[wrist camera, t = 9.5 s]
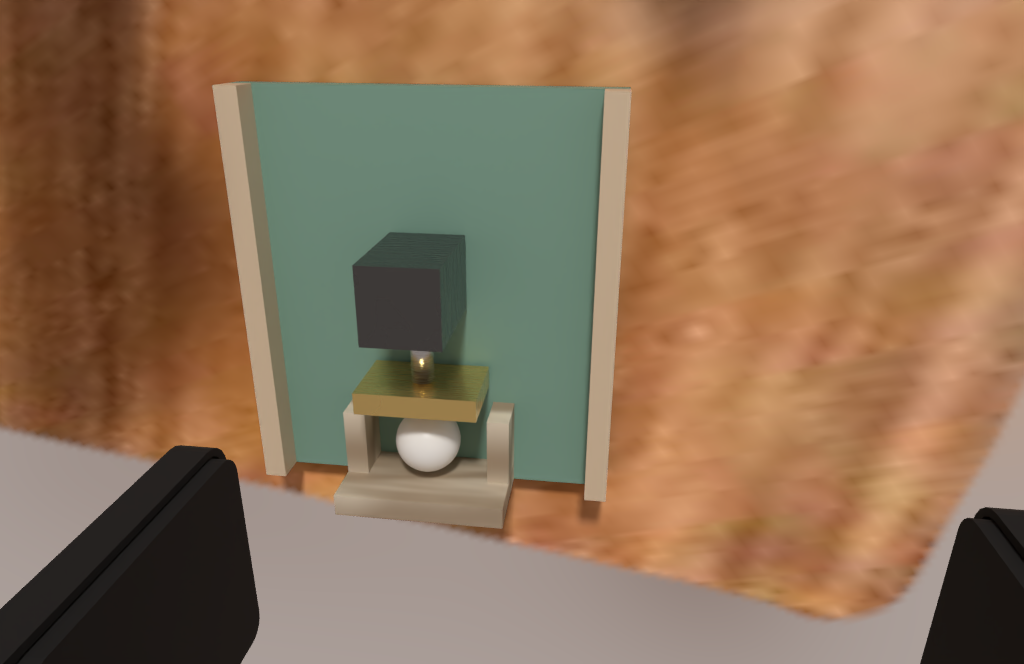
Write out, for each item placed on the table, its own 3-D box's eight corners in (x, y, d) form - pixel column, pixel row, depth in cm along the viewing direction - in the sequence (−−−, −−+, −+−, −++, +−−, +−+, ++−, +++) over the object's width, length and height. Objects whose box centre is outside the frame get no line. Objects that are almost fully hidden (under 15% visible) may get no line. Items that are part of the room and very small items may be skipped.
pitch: (239, 81, 38) (212, 85, 36) (630, 87, 36) (631, 91, 33) (285, 450, 47) (266, 474, 44) (606, 474, 44) (605, 501, 42)
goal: (357, 392, 43) (327, 434, 39) (514, 403, 42) (502, 447, 37) (363, 466, 45) (335, 514, 40) (513, 478, 44) (502, 528, 39)
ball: (385, 473, 40) (403, 465, 43) (451, 478, 39) (463, 470, 43) (390, 405, 40) (407, 403, 43) (456, 410, 40) (467, 407, 43)
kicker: (367, 231, 39) (326, 264, 33) (488, 235, 38) (466, 270, 33) (377, 379, 42) (341, 431, 37) (488, 386, 41) (469, 440, 36)
